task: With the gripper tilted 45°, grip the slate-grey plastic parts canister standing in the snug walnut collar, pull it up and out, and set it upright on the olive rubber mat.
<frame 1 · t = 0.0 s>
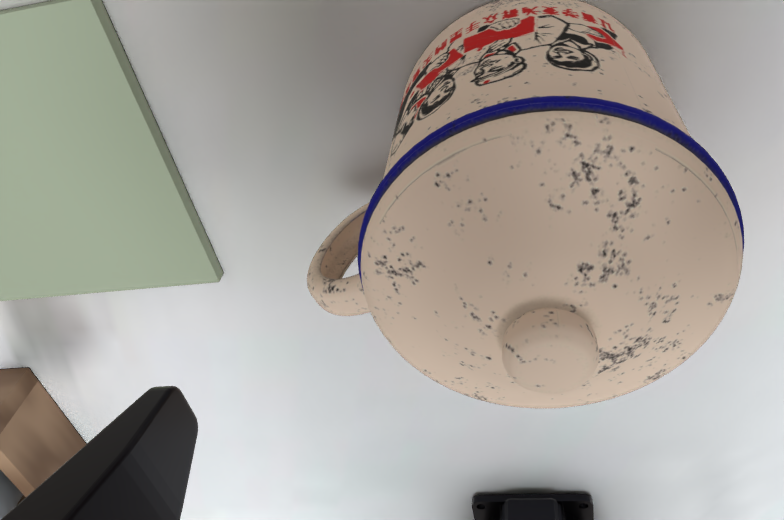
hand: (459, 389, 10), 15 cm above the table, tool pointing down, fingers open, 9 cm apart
rubber mat: (35, 170, 26), on the table
teacup with lid: (486, 132, 23), on the table
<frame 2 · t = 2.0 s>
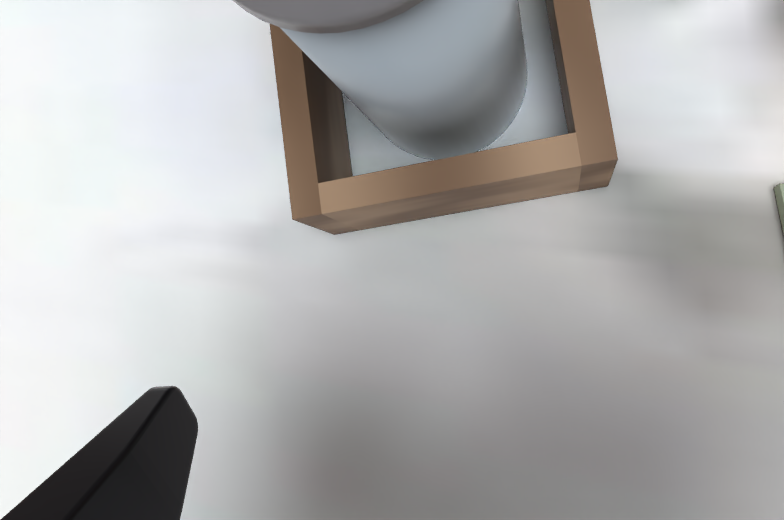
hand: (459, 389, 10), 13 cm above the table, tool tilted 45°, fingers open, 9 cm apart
walnut collar: (444, 79, 24), on the table
parts canister: (406, 1, 18), in the walnut collar
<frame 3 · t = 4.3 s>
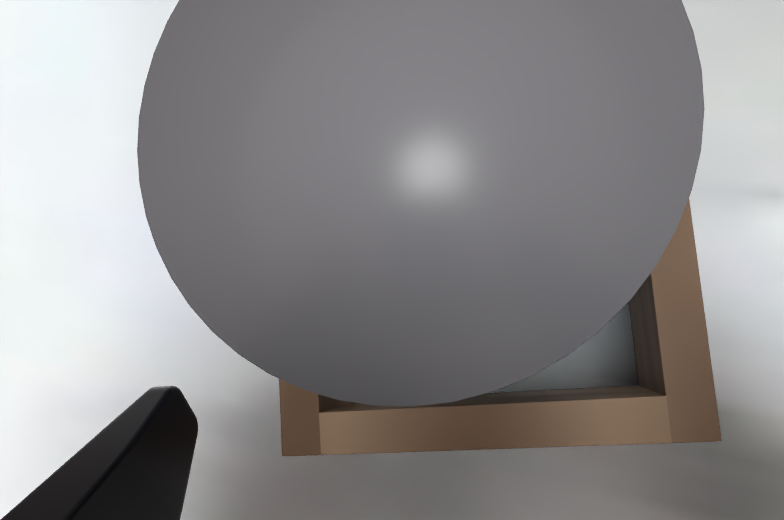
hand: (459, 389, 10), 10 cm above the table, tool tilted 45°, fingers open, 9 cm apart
walnut collar: (482, 257, 20), on the table
parts canister: (458, 217, 14), in the walnut collar
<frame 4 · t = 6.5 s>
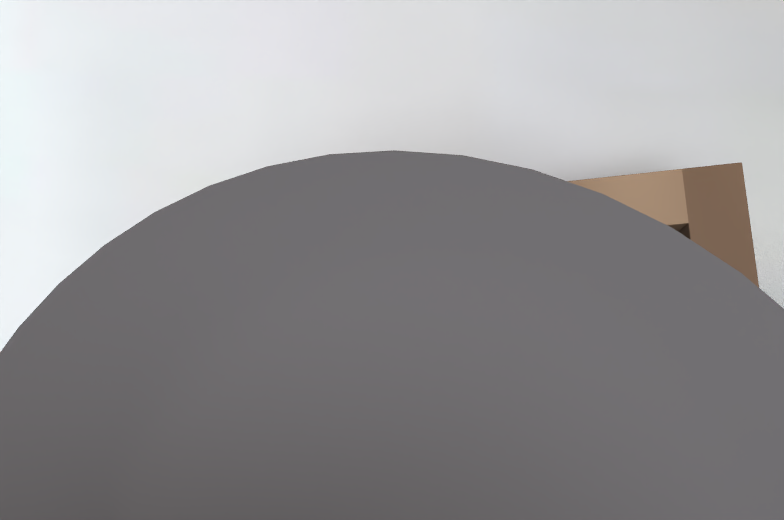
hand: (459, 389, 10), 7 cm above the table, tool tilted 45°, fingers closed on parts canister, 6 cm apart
walnut collar: (496, 430, 16), on the table
parts canister: (469, 482, 10), in the walnut collar, touching gripper
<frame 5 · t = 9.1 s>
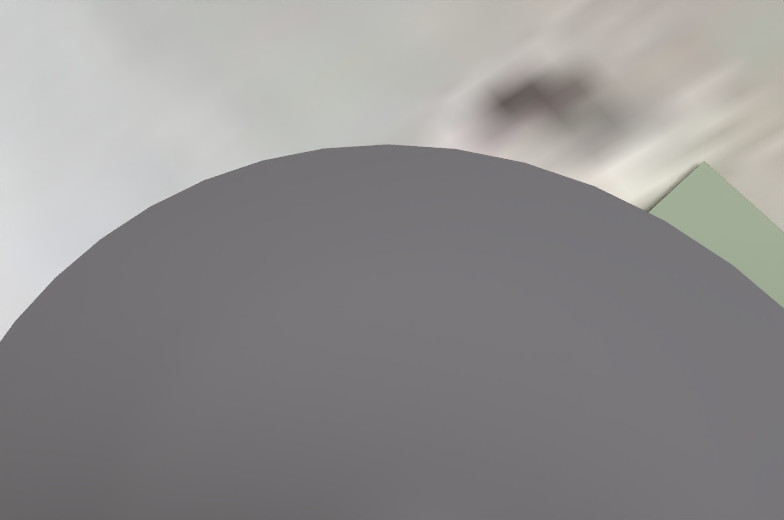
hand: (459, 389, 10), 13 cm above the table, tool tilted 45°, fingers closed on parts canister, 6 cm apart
rubber mat: (700, 424, 21), on the table
parts canister: (466, 479, 10), point 13 cm above the table, touching gripper
when the fingers open (8 cm above the table, at t = 11.7 s): parts canister drops 1 cm, resting on rubber mat.
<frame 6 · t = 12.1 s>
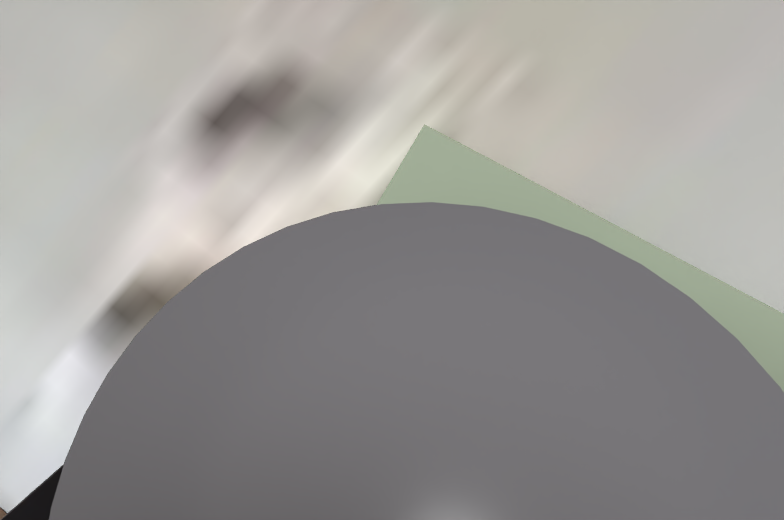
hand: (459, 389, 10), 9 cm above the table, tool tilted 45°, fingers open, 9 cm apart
rubber mat: (501, 419, 18), on the table
parts canister: (477, 468, 11), on the rubber mat, point 7 cm above the table
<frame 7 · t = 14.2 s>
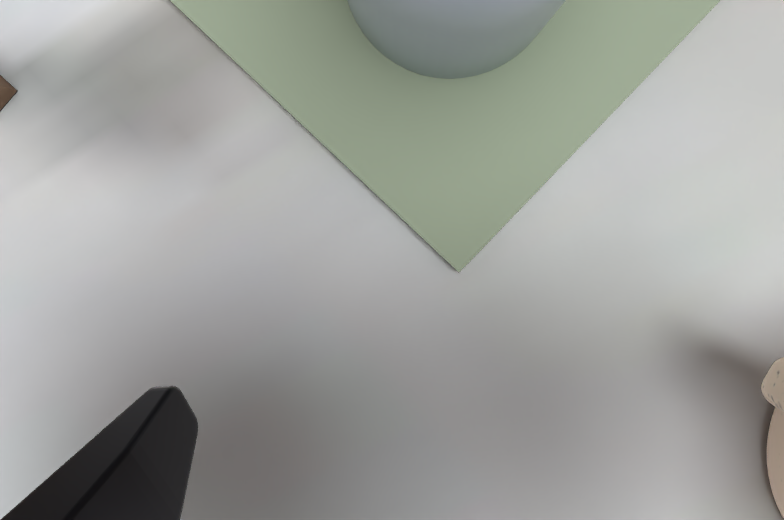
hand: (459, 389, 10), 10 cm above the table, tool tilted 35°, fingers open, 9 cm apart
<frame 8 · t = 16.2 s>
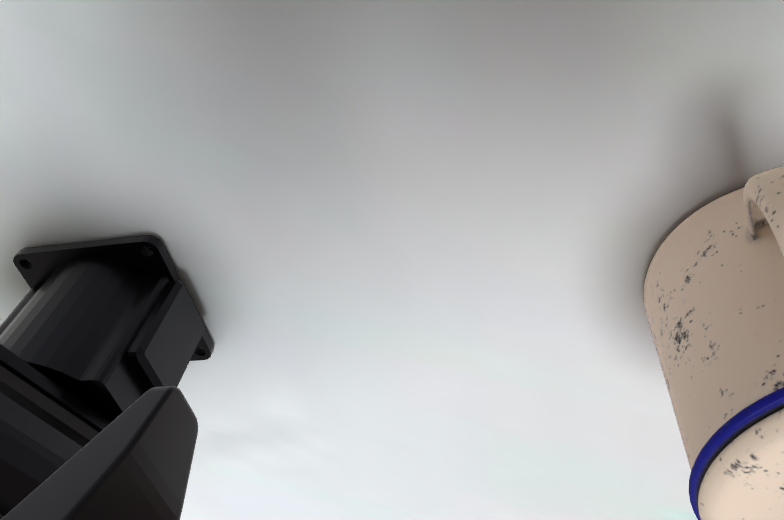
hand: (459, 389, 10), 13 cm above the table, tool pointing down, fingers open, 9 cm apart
teacup with lid: (758, 242, 23), on the table
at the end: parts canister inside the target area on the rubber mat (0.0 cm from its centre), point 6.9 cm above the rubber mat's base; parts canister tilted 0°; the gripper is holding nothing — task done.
